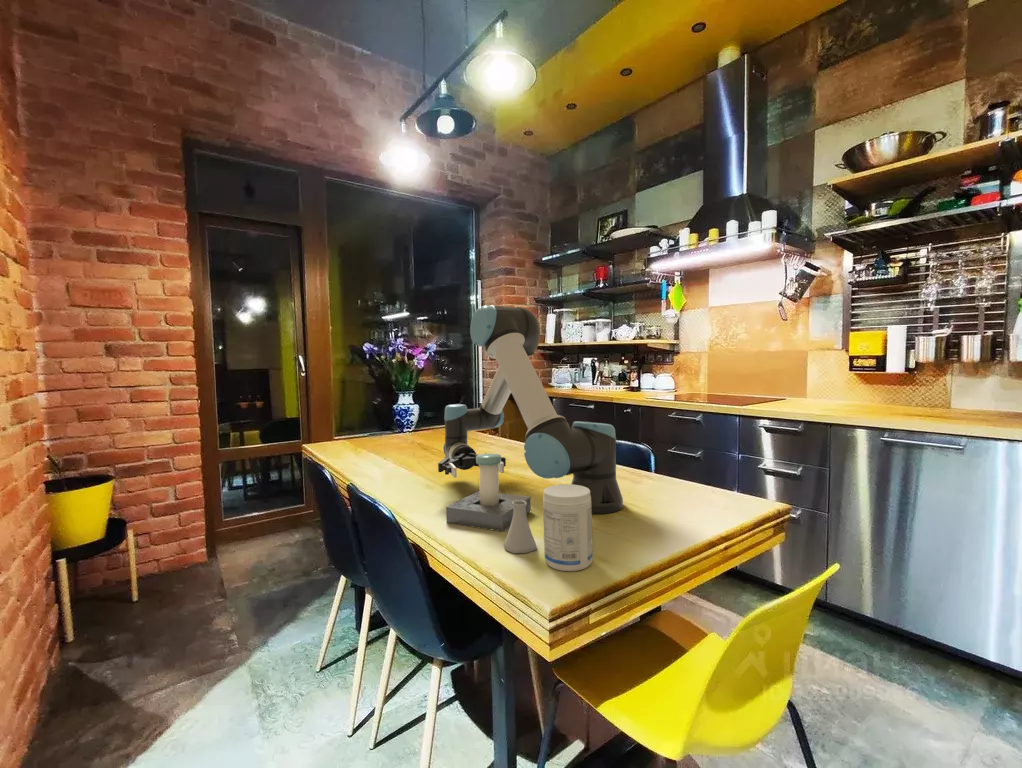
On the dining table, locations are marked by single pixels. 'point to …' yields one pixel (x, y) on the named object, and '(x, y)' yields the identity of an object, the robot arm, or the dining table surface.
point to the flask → (519, 531)
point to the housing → (484, 512)
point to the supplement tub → (567, 527)
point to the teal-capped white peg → (488, 479)
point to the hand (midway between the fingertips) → (479, 470)
